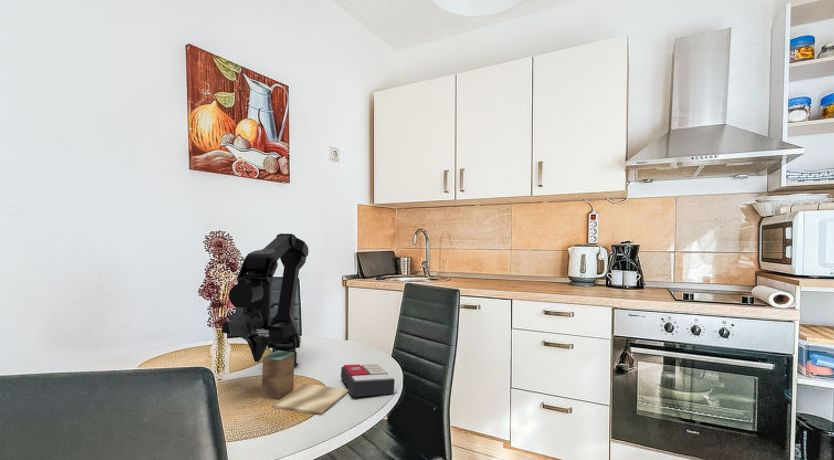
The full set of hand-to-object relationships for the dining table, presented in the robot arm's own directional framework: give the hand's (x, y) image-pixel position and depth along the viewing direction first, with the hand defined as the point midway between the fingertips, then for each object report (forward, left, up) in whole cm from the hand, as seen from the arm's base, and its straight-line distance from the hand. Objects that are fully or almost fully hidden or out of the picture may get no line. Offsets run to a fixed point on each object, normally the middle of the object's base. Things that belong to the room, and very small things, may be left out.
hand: (257, 361), depth 100 cm
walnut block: (+6, 0, -8) cm, 10 cm away
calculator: (+25, +12, -7) cm, 29 cm away
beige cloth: (+16, 0, -8) cm, 18 cm away
